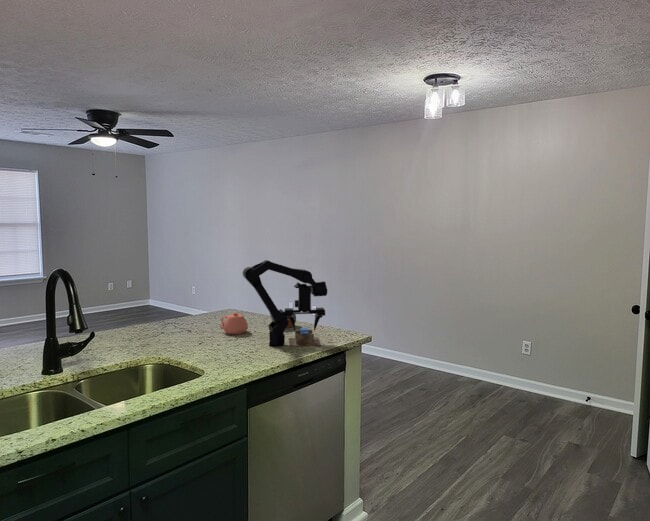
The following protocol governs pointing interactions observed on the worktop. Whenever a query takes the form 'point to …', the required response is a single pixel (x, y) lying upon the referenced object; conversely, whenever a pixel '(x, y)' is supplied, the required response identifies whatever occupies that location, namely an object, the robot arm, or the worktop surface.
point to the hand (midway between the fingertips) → (304, 330)
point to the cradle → (304, 340)
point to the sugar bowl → (234, 324)
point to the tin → (290, 321)
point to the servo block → (304, 331)
